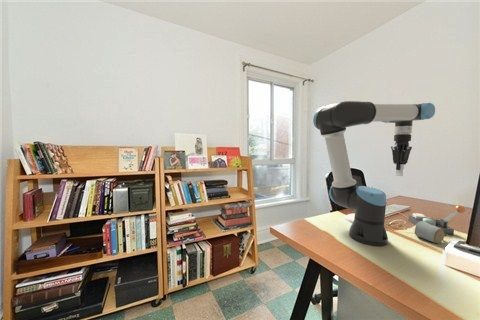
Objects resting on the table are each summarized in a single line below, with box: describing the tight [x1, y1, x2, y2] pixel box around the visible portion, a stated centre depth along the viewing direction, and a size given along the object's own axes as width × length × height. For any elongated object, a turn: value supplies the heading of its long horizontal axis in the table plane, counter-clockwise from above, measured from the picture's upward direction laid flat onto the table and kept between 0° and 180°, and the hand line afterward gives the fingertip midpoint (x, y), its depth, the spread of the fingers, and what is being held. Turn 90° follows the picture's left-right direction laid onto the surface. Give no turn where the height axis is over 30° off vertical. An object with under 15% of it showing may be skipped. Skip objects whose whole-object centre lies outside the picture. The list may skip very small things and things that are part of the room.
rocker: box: [412, 212, 427, 219], centre depth 110 cm, size 4×3×1 cm
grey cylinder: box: [414, 221, 445, 244], centre depth 91 cm, size 11×8×8 cm
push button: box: [423, 218, 434, 225], centre depth 102 cm, size 4×4×2 cm
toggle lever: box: [442, 205, 466, 224], centre depth 97 cm, size 3×3×14 cm
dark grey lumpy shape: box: [408, 215, 455, 236], centre depth 105 cm, size 11×16×6 cm
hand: (399, 175), depth 113 cm, fingers closed
